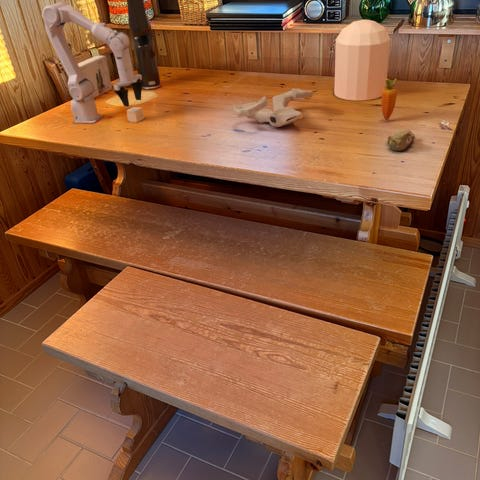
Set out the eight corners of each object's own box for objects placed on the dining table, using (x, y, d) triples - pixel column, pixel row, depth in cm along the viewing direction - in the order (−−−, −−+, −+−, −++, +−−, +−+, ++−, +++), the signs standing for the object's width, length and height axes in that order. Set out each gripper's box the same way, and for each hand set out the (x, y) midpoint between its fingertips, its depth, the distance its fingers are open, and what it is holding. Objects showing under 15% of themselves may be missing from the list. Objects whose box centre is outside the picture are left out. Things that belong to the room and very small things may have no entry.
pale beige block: (128, 121, 188) (126, 110, 186) (135, 117, 192) (133, 106, 189) (137, 122, 187) (135, 111, 184) (144, 118, 190) (142, 107, 187)
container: (354, 104, 182) (359, 27, 166) (324, 91, 198) (325, 20, 182) (396, 93, 189) (404, 18, 173) (363, 81, 205) (368, 12, 189)
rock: (408, 140, 153) (379, 139, 152) (414, 122, 149) (384, 120, 148) (421, 154, 144) (391, 153, 143) (428, 135, 140) (396, 133, 139)
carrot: (394, 118, 167) (398, 76, 158) (393, 123, 163) (397, 80, 154) (379, 117, 168) (383, 75, 160) (378, 122, 165) (382, 80, 156)
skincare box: (87, 102, 214) (77, 67, 204) (78, 102, 215) (68, 66, 206) (113, 88, 229) (105, 54, 220) (104, 88, 231) (96, 54, 222)
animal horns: (230, 133, 167) (227, 101, 161) (244, 110, 188) (241, 81, 182) (308, 133, 161) (308, 99, 155) (313, 109, 182) (314, 78, 176)
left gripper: (120, 73, 171) (128, 109, 178) (144, 63, 181) (151, 97, 188) (106, 72, 174) (114, 108, 181) (130, 62, 184) (138, 96, 191)
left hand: (132, 102), depth 185 cm, fingers open, 7 cm apart
